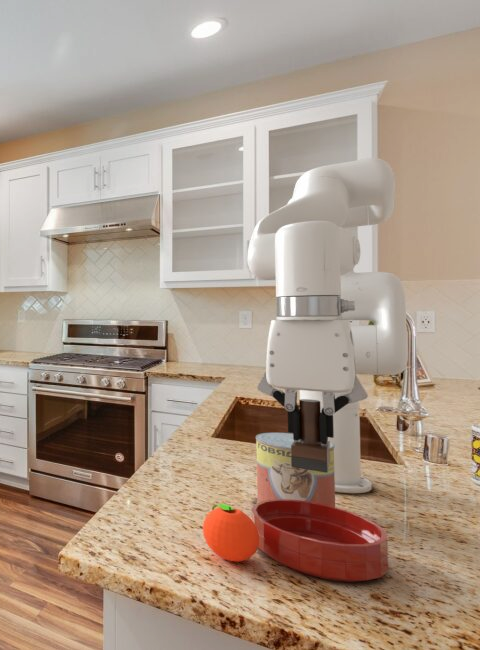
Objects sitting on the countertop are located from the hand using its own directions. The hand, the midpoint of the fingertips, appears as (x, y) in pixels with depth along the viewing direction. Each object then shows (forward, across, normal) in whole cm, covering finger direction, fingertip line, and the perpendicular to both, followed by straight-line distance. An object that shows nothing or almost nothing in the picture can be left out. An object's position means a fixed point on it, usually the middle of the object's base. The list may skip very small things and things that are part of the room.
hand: (310, 439), depth 67 cm
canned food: (+16, +4, -17) cm, 24 cm away
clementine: (+17, +9, +8) cm, 20 cm away
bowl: (+16, 0, 0) cm, 16 cm away
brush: (+4, 0, 0) cm, 4 cm away
